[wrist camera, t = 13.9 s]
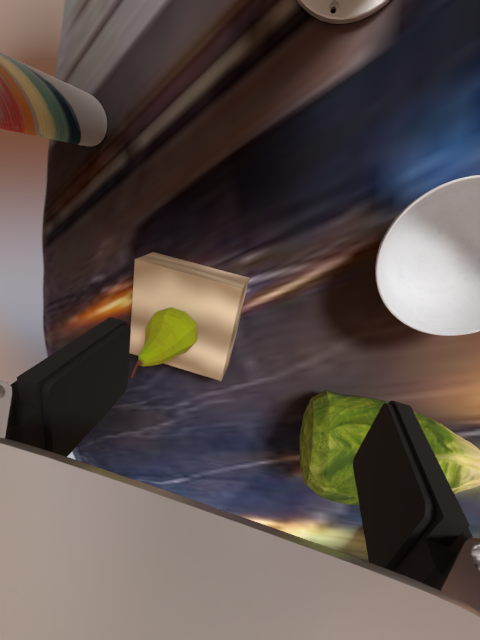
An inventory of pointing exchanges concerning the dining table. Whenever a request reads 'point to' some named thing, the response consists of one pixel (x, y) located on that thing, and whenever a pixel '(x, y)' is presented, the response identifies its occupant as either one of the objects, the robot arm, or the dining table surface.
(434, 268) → the chinaware
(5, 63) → the lotion bottle
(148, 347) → the fruit
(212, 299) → the plinth
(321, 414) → the lettuce
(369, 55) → the dining table surface
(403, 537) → the robot arm
